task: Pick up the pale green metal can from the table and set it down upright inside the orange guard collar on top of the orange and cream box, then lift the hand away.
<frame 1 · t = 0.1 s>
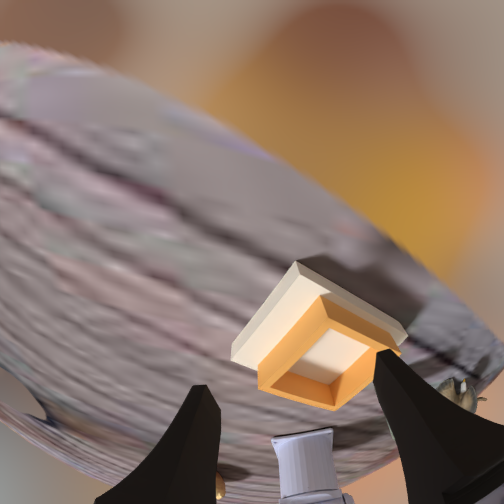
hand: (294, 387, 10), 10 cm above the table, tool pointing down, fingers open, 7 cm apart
orange and cream box: (321, 335, 22), on the table
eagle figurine: (452, 386, 28), on the table
pastry: (193, 470, 36), on the table
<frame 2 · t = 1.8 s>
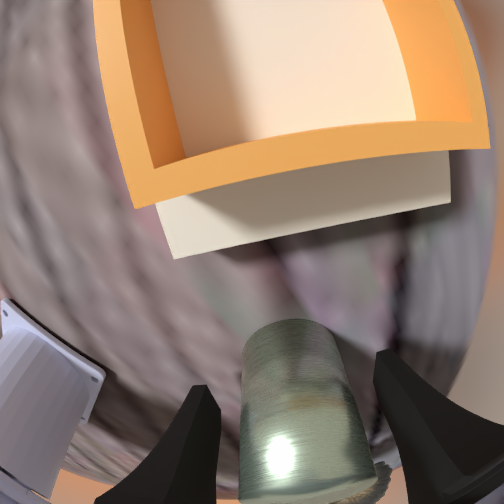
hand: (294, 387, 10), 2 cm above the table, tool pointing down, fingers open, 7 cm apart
orange and cream box: (275, 41, 7), on the table
green can: (289, 355, 12), on the table
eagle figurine: (332, 451, 18), on the table
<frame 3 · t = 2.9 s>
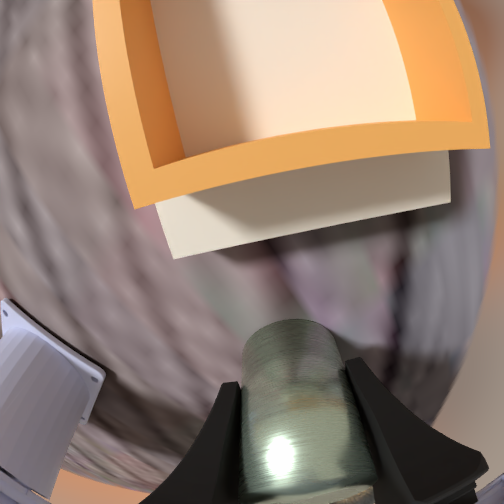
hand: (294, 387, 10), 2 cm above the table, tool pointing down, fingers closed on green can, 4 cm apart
orange and cream box: (275, 41, 7), on the table
green can: (289, 355, 12), on the table, touching gripper
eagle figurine: (331, 448, 17), on the table
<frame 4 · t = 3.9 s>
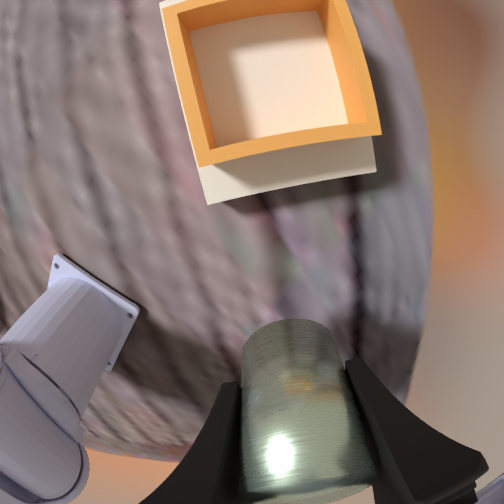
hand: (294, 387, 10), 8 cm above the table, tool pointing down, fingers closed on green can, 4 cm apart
orange and cream box: (266, 78, 13), on the table
green can: (289, 355, 12), point 6 cm above the table, touching gripper
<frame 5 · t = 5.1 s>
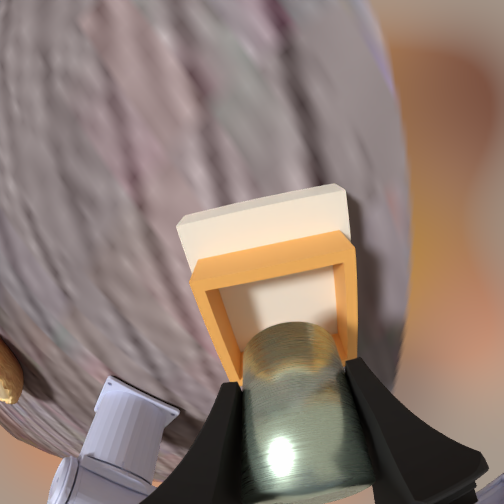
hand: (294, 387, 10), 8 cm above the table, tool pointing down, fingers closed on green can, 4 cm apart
orange and cream box: (278, 287, 18), on the table
green can: (289, 356, 12), point 6 cm above the table, touching gripper
pastry: (0, 351, 23), on the table
when the fingers open (6 cm above the table, at t = 6.3 s): green can drops 2 cm, resting on orange and cream box.
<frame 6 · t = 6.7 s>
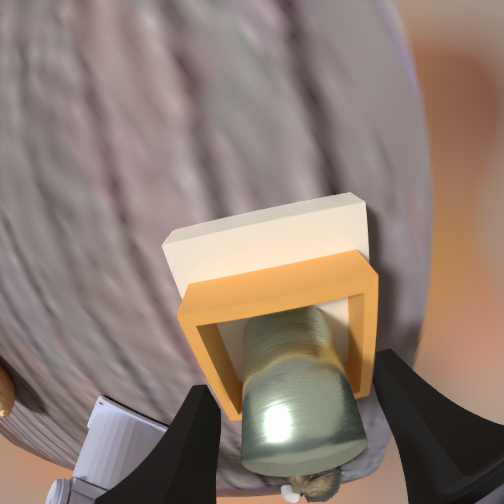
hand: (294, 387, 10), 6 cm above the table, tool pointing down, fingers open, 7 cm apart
orange and cream box: (282, 310, 15), on the table
green can: (286, 334, 14), point 2 cm above the table, touching orange and cream box
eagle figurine: (307, 459, 25), on the table
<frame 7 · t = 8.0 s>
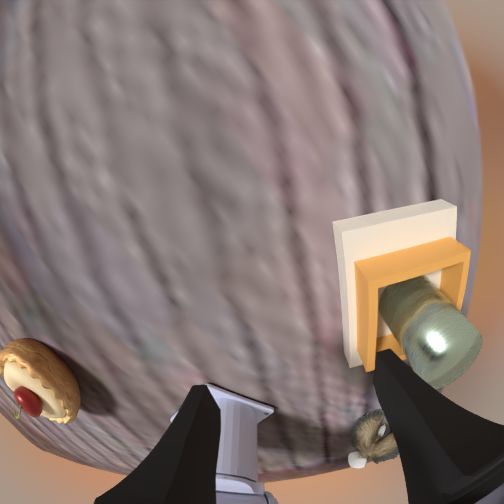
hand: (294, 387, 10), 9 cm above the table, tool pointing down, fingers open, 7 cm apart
orange and cream box: (393, 283, 19), on the table
green can: (405, 298, 17), point 2 cm above the table, touching orange and cream box
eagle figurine: (371, 425, 29), on the table
pastry: (49, 366, 25), on the table
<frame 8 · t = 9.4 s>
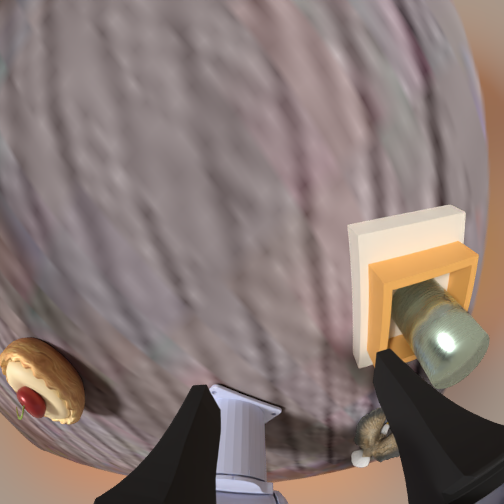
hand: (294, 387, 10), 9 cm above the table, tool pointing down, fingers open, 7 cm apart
orange and cream box: (403, 285, 19), on the table
green can: (414, 300, 18), point 2 cm above the table, touching orange and cream box
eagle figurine: (374, 423, 29), on the table
pastry: (52, 366, 25), on the table
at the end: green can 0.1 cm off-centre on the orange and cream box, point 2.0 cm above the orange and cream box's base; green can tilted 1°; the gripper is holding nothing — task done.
